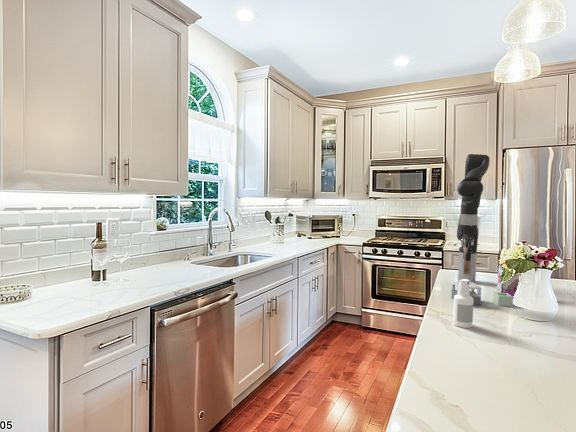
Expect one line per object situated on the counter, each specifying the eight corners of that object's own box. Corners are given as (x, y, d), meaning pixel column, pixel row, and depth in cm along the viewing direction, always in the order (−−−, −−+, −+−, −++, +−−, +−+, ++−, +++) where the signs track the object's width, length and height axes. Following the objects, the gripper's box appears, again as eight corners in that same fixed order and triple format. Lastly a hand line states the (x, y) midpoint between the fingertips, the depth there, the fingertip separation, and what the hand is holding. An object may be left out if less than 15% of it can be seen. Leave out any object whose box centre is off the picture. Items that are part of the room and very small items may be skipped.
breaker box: (451, 297, 176) (451, 281, 175) (472, 298, 174) (473, 282, 174) (457, 303, 166) (458, 286, 166) (480, 305, 165) (481, 287, 164)
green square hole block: (493, 301, 170) (493, 292, 170) (506, 302, 169) (507, 293, 169) (498, 305, 164) (498, 295, 164) (512, 306, 163) (512, 296, 163)
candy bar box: (501, 296, 179) (502, 264, 178) (496, 293, 184) (498, 262, 183) (524, 297, 178) (526, 265, 177) (519, 294, 183) (521, 263, 181)
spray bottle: (464, 329, 135) (466, 282, 134) (449, 323, 141) (450, 278, 140) (476, 326, 138) (478, 280, 137) (460, 320, 144) (462, 277, 143)
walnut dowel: (462, 272, 171) (463, 246, 170) (468, 273, 171) (469, 246, 170) (464, 274, 168) (465, 246, 167) (470, 274, 168) (471, 247, 167)
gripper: (455, 222, 175) (454, 257, 176) (464, 225, 161) (463, 262, 163) (472, 222, 174) (470, 257, 175) (482, 225, 160) (480, 263, 161)
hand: (466, 259), depth 169 cm, fingers closed on walnut dowel, 2 cm apart
